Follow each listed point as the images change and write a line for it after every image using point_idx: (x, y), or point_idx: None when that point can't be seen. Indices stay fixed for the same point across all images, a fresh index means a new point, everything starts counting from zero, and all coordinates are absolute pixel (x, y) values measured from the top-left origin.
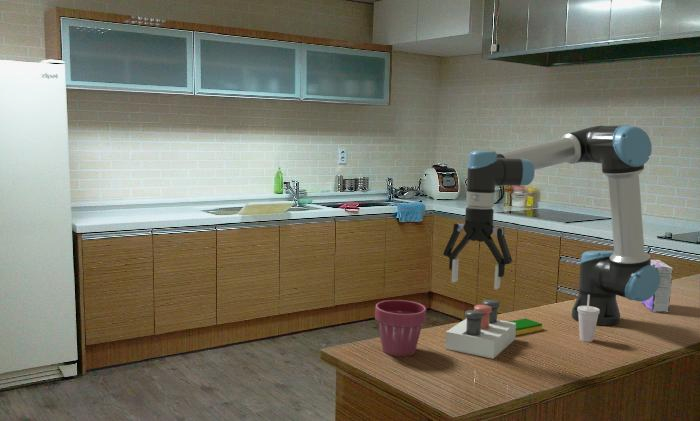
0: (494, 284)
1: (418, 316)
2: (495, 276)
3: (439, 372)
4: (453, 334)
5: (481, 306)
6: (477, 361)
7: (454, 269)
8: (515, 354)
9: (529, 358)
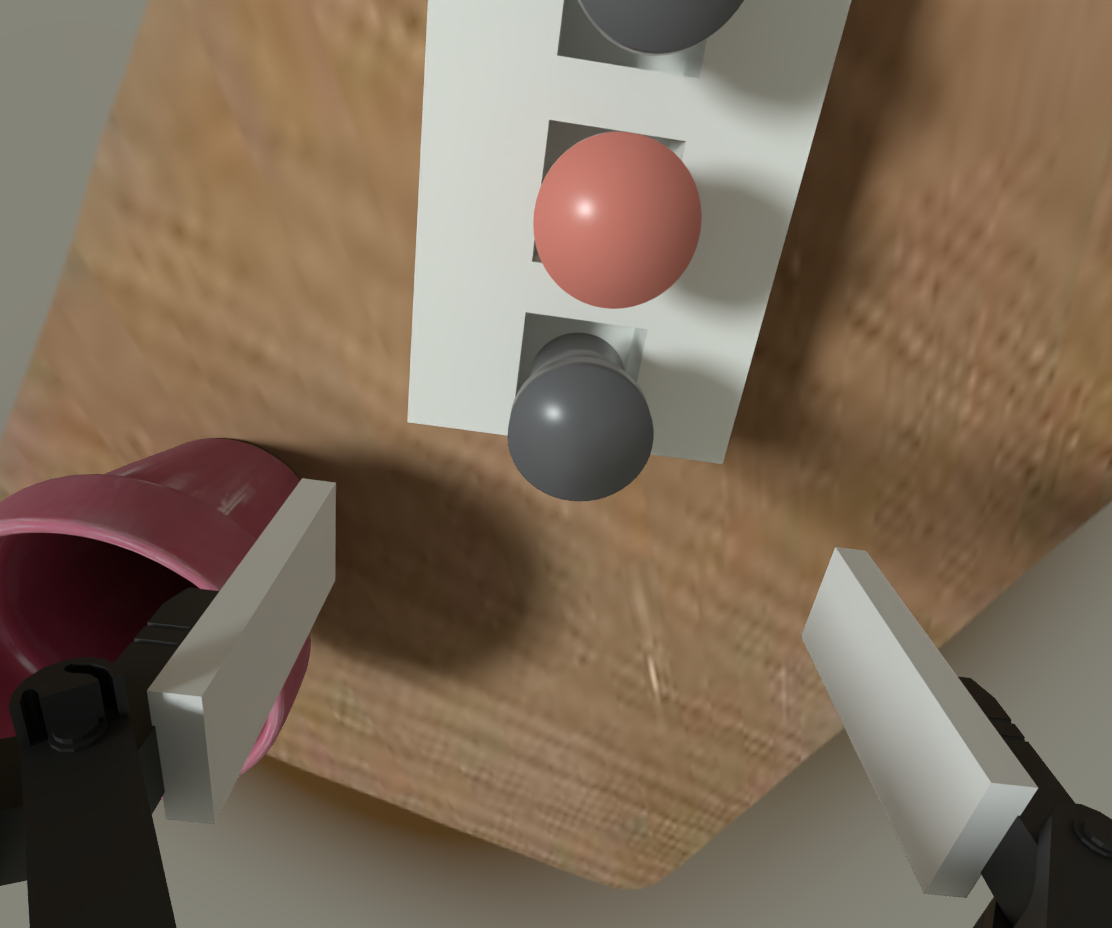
0: (819, 672)
1: (283, 723)
2: (862, 748)
3: (506, 663)
4: (461, 425)
5: (600, 209)
6: (631, 487)
7: (276, 692)
8: (821, 294)
9: (899, 326)
